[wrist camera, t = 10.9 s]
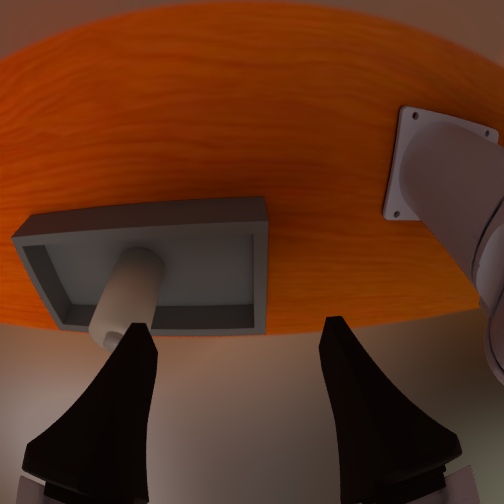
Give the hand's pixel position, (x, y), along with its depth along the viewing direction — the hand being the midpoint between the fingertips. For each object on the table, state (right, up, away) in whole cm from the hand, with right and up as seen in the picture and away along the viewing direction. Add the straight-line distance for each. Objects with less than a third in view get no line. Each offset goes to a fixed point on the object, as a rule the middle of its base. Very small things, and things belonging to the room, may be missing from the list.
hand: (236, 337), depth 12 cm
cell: (-7, +2, +9) cm, 12 cm away
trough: (-7, +3, +9) cm, 12 cm away
